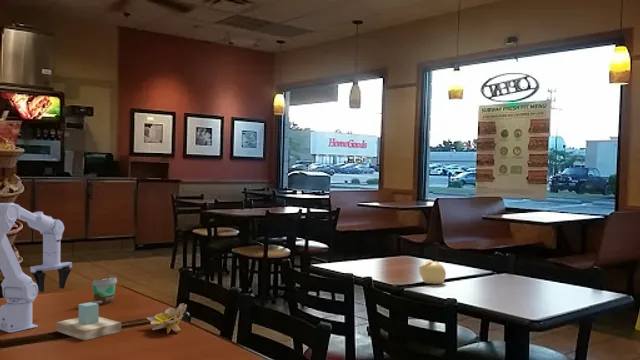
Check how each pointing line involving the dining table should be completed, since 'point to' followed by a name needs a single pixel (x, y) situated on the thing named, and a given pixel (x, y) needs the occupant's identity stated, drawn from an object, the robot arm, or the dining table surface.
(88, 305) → the teal block
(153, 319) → the decorative flower
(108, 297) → the food container
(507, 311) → the dining table surface
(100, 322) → the flat cream rectangular board
